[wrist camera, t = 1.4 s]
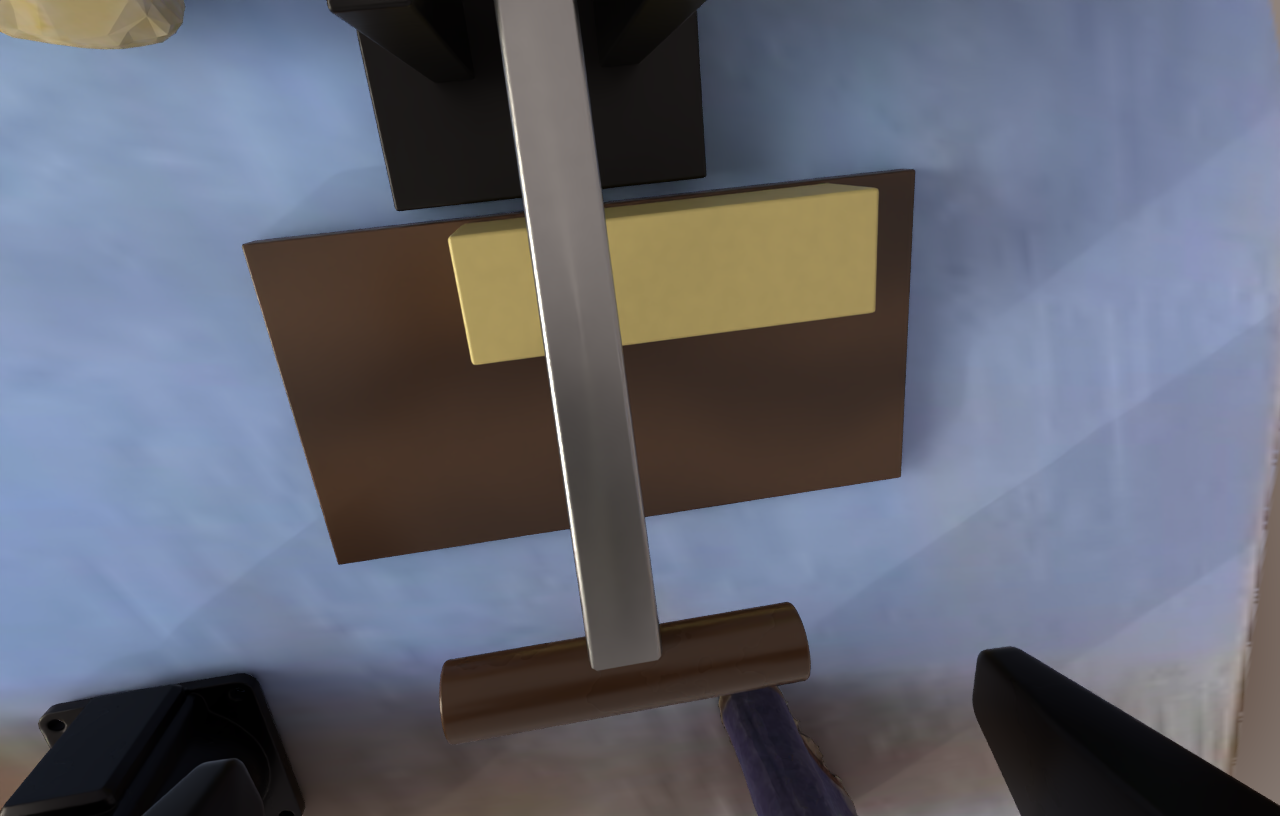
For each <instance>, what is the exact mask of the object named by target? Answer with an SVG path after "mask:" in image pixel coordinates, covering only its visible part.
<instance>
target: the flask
mask: <svg viewBox="0 0 1280 816" xmlns="http://www.w3.org/2000/svg"><path fill="white" fill-rule="evenodd" d="M787 703H788V701H787V702H785V700H784V698H783V695H782V692H781V691H780V690H779V689H778V687H777V686H773V687H768V688H762V689H757V690H751V691H746V692H740V693H735V694H729V695H724V696H720V699H719V705H718V707H719V708H720V710H721V712H720V716H721V720H722V724H723V725H724V728H725V729H726V731H727V732H728V735H729V738H730V742H731V743H732V745H733V746H734V749H735V751H736V754H737V757H738V760H739V762H740V765H741V768H742V771H743V773H744V776H745V779H746V782H747V785H748V789H749V791H750V794H751V797H752V801H753V804H754V807H755V809H756V811H757V814H758V816H858V815H857V813H856V809H855V806H854V803H853V801H852V800H851V798H850V797H849V795H848V794H847V793H846V791H845V789H844V788H843V786H842V783H841V779H839V777H838V776H837V775H836V776H835V777H836V778H834V776H833V775H832V774H831V773H830V772H829V770H828V769H827V767H826V765H824V761H822V760H823V759H822V758H823V755H822V754H821V753H820V752H819V749H818V748H819V746H817V745H815V744H814V741H813V740H811V739H809V738H810V737H809V738H806V736H803V735H802V734H800V732H799V730H798V728H797V727H798V724H799V722H800V721H797V720H796V719H794V718H792V716H791V714H790V712H789V709H788V707H787V705H786V704H787Z"/></svg>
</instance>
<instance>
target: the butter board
mask: <svg viewBox="0 0 1280 816" xmlns="http://www.w3.org/2000/svg"><path fill="white" fill-rule="evenodd" d="M825 183H831V184H841V185H852V186H862V187H872V188H877V189H878V191H879V201H878V235H877V270H876V304H875V312H873V313H867V314H860V315H852V316H844V317H837V318H829V319H822V320H814V321H806V322H799V323H791V324H784V325H776V326H768V327H761V328H753V329H746V330H738V331H730V332H723V333H715V334H708V335H700V336H692V337H685V338H677V339H670V340H662V341H654V342H647V343H639V344H632V345H624V346H622V347H623V355H624V363H625V370H626V378H627V385H628V393H629V401H630V408H631V416H632V423H633V431H634V439H635V446H636V454H637V461H638V469H639V476H640V484H641V492H642V499H643V507H644V514H645V517H648V516H655V515H661V514H667V513H674V512H680V511H687V510H693V509H700V508H706V507H712V506H719V505H725V504H732V503H738V502H744V501H751V500H757V499H764V498H770V497H777V496H783V495H789V494H796V493H802V492H809V491H815V490H821V489H828V488H834V487H841V486H847V485H853V484H860V483H866V482H873V481H879V480H886V479H892V478H898V477H901V463H902V442H903V421H904V399H905V378H906V357H907V336H908V314H909V293H910V272H911V251H912V229H913V208H914V187H915V170H914V169H896V170H887V171H878V172H869V173H860V174H851V175H842V176H833V177H824V178H815V179H806V180H797V181H788V182H779V183H770V184H761V185H752V186H743V187H734V188H725V189H716V190H707V191H698V192H689V193H680V194H671V195H662V196H653V197H644V198H635V199H626V200H617V201H608V202H603V203H604V208H611V207H620V206H628V205H637V204H646V203H655V202H664V201H673V200H682V199H691V198H700V197H709V196H718V195H727V194H736V193H744V192H753V191H762V190H771V189H780V188H789V187H798V186H807V185H816V184H825ZM521 217H525V213H524V211H518V212H509V213H500V214H491V215H482V216H473V217H464V218H455V219H446V220H437V221H428V222H419V223H410V224H401V225H392V226H383V227H374V228H365V229H356V230H347V231H338V232H329V233H320V234H311V235H302V236H293V237H284V238H275V239H266V240H257V241H252V242H249V243H245V244H243V245H242V248H243V252H244V255H245V258H246V261H247V265H248V268H249V271H250V275H251V278H252V281H253V285H254V288H255V291H256V294H257V298H258V301H259V304H260V308H261V311H262V314H263V318H264V321H265V324H266V327H267V331H268V334H269V337H270V341H271V344H272V347H273V351H274V354H275V357H276V360H277V364H278V367H279V370H280V374H281V377H282V380H283V384H284V387H285V390H286V393H287V397H288V400H289V403H290V407H291V410H292V413H293V416H294V420H295V423H296V426H297V430H298V433H299V436H300V440H301V443H302V446H303V449H304V453H305V456H306V459H307V463H308V466H309V469H310V473H311V476H312V479H313V482H314V486H315V489H316V492H317V496H318V499H319V502H320V506H321V509H322V512H323V515H324V519H325V522H326V525H327V529H328V532H329V535H330V539H331V542H332V545H333V548H334V552H335V555H336V558H337V562H338V564H339V565H340V564H347V563H353V562H360V561H366V560H372V559H379V558H385V557H392V556H398V555H405V554H411V553H417V552H424V551H430V550H437V549H443V548H449V547H456V546H462V545H469V544H475V543H481V542H488V541H494V540H501V539H507V538H514V537H520V536H526V535H533V534H539V533H546V532H552V531H558V530H565V529H570V525H569V518H568V512H567V505H566V498H565V491H564V484H563V477H562V470H561V463H560V456H559V449H558V442H557V435H556V428H555V421H554V414H553V408H552V401H551V394H550V387H549V380H548V373H547V366H546V359H545V356H540V357H533V358H525V359H518V360H510V361H502V362H495V363H487V364H480V365H474V364H473V363H472V362H471V356H470V351H469V346H468V341H467V336H466V331H465V326H464V320H463V315H462V310H461V305H460V300H459V295H458V290H457V285H456V279H455V274H454V269H453V264H452V259H451V254H450V249H449V244H448V238H449V237H450V236H451V235H452V234H453V233H454V232H455V231H456V230H457V229H459V228H460V227H461V226H462V225H464V224H468V223H477V222H486V221H495V220H504V219H513V218H521Z"/></svg>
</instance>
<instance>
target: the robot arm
mask: <svg viewBox="0 0 1280 816" xmlns="http://www.w3.org/2000/svg"><path fill="white" fill-rule="evenodd" d="M236 688H240V689H243V690H244V691H245V692H241V691H239V690H237V689H236ZM972 701H973V708H974V712H975V715H976V718H977V721H978V723H979V725H980V727H981V729H982V732H983V734H984V736H985V738H986V740H987V742H988V745H989V747H990V749H991V751H992V753H993V755H994V758H995V760H996V762H997V764H998V766H999V769H1000V771H1001V773H1002V775H1003V777H1004V779H1005V782H1006V784H1007V786H1008V788H1009V790H1010V792H1011V795H1012V797H1013V799H1014V801H1015V803H1016V805H1017V808H1018V810H1019V812H1020V814H1021V816H1280V805H1278V804H1276V803H1275V802H1273V801H1271V800H1270V799H1268V798H1266V797H1265V796H1263V795H1261V794H1260V793H1258V792H1256V791H1255V790H1253V789H1251V788H1250V787H1248V786H1247V785H1245V784H1243V783H1241V782H1240V781H1238V780H1237V779H1235V778H1233V777H1232V776H1230V775H1228V774H1227V773H1225V772H1223V771H1222V770H1220V769H1218V768H1217V767H1215V766H1213V765H1212V764H1210V763H1208V762H1207V761H1205V760H1203V759H1202V758H1200V757H1198V756H1197V755H1195V754H1193V753H1192V752H1190V751H1188V750H1187V749H1185V748H1183V747H1182V746H1180V745H1178V744H1177V743H1175V742H1173V741H1172V740H1170V739H1168V738H1167V737H1165V736H1163V735H1162V734H1160V733H1159V732H1157V731H1155V730H1154V729H1152V728H1150V727H1149V726H1147V725H1145V724H1144V723H1142V722H1140V721H1139V720H1137V719H1135V718H1134V717H1132V716H1130V715H1129V714H1127V713H1125V712H1124V711H1122V710H1120V709H1119V708H1117V707H1115V706H1114V705H1112V704H1110V703H1109V702H1107V701H1105V700H1104V699H1102V698H1100V697H1099V696H1097V695H1095V694H1094V693H1092V692H1090V691H1089V690H1087V689H1085V688H1084V687H1082V686H1080V685H1079V684H1077V683H1075V682H1074V681H1072V680H1071V679H1069V678H1067V677H1066V676H1064V675H1062V674H1061V673H1059V672H1057V671H1056V670H1054V669H1052V668H1051V667H1049V666H1047V665H1046V664H1044V663H1042V662H1041V661H1039V660H1037V659H1036V658H1034V657H1032V656H1031V655H1029V654H1027V653H1026V652H1024V651H1022V650H1020V649H1018V648H1016V647H1011V646H1008V647H1000V648H993V649H987V650H983V651H981V652H980V654H979V655H978V658H977V664H976V672H975V680H974V689H973V699H972ZM59 720H61V721H59ZM62 721H63V722H62ZM38 725H39V729H40V731H41V732H42V734H43V736H44V738H45V740H46V742H47V743H48V745H49V747H50V750H49V751H48V753H47V754H46V755H45V756H44V757H43V759H42V760H41V761H40V762H39V763H38V765H37V766H36V767H35V768H34V769H33V771H32V772H31V773H30V774H29V776H28V777H27V778H26V779H25V780H24V782H23V783H22V784H21V785H20V786H19V788H18V789H17V790H16V791H15V793H14V794H13V795H12V796H11V797H10V799H9V800H8V801H7V802H6V803H5V805H4V806H3V808H2V809H1V810H0V816H302V814H303V812H304V809H305V802H304V800H303V797H302V795H301V792H300V789H299V787H298V784H297V781H296V779H295V776H294V774H293V771H292V768H291V766H290V763H289V760H288V758H287V755H286V753H285V750H284V747H283V745H282V742H281V739H280V737H279V734H278V732H277V729H276V726H275V724H274V721H273V718H272V716H271V713H270V711H269V708H268V705H267V703H266V700H265V698H264V695H263V692H262V690H261V687H260V684H259V682H258V681H257V679H256V678H254V677H253V676H252V675H249V674H245V673H241V674H233V675H227V676H221V677H215V678H209V679H203V680H197V681H191V682H185V683H179V684H173V685H165V686H159V687H153V688H147V689H141V690H135V691H129V692H123V693H117V694H111V695H105V696H100V697H95V698H90V699H84V700H78V701H72V702H66V703H60V704H56V705H53V706H52V707H50V708H49V709H48V710H47V711H46V713H45V714H44V715H43V716H42V717H41V718H40V720H39V723H38Z"/></svg>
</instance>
